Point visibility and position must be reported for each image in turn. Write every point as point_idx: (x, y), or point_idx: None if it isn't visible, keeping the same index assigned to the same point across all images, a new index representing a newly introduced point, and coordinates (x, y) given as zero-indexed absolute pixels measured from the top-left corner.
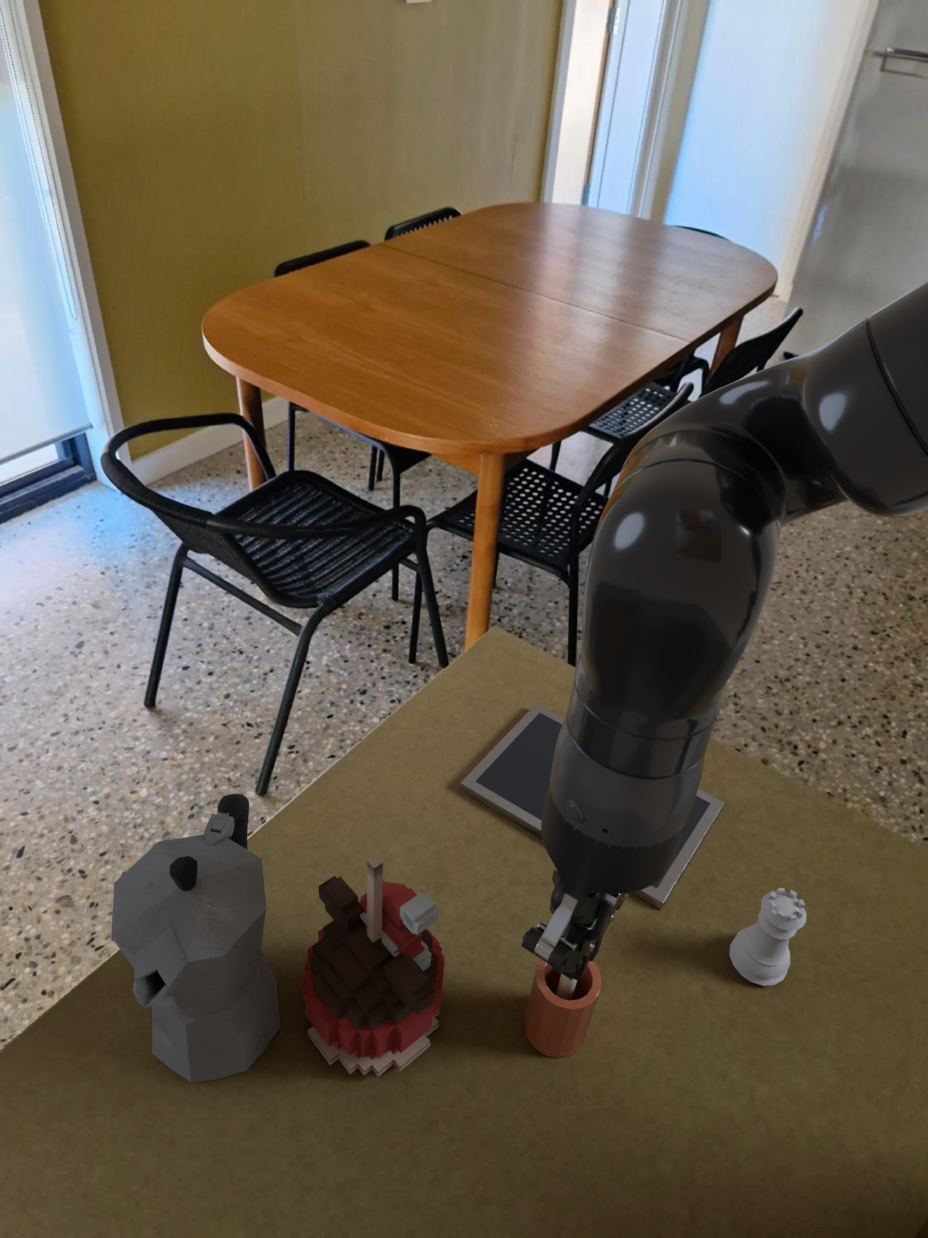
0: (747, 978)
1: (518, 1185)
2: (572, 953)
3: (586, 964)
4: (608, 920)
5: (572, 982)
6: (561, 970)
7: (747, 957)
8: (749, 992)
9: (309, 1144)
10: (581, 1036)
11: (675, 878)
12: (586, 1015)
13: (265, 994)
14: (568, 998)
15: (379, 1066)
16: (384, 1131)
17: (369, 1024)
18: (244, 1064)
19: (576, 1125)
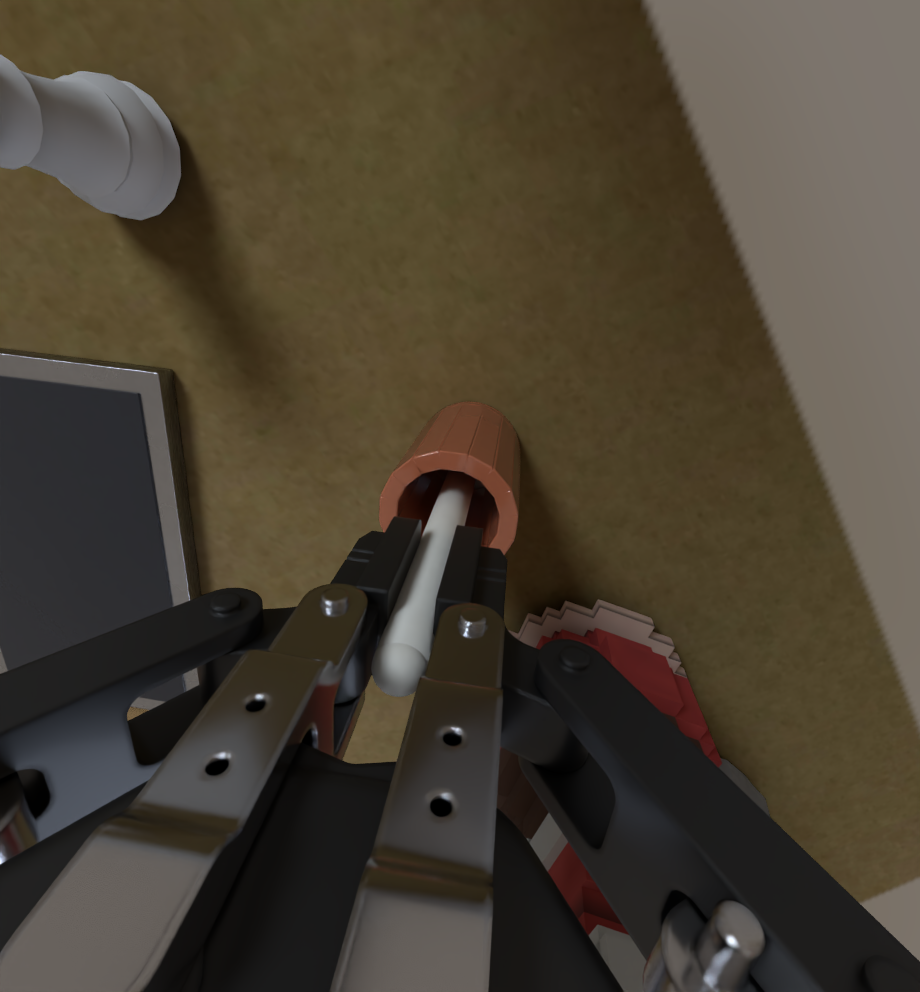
0: (178, 160)
1: (726, 404)
2: (760, 912)
3: (464, 553)
4: (437, 752)
5: (459, 511)
6: (871, 922)
7: (138, 171)
8: (200, 147)
9: (778, 663)
10: (483, 417)
11: (97, 369)
12: (481, 443)
13: None
14: (465, 484)
15: (665, 649)
16: (726, 595)
17: None
18: (731, 774)
19: (599, 358)
